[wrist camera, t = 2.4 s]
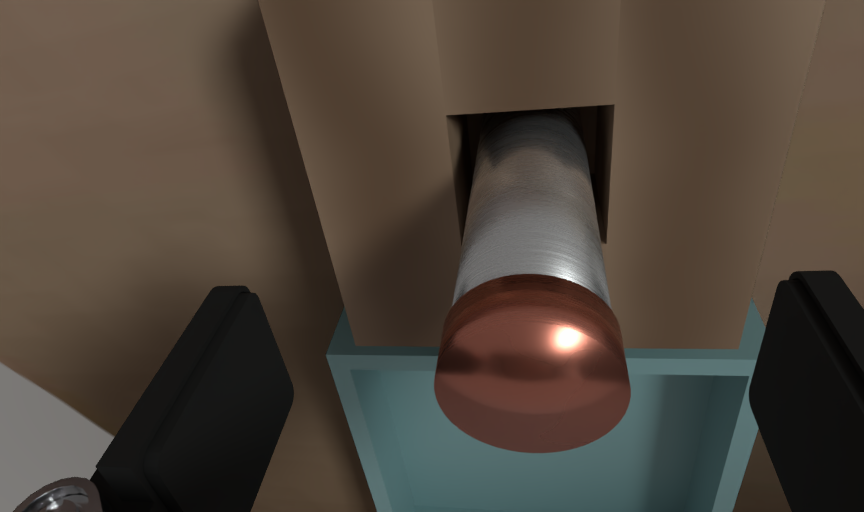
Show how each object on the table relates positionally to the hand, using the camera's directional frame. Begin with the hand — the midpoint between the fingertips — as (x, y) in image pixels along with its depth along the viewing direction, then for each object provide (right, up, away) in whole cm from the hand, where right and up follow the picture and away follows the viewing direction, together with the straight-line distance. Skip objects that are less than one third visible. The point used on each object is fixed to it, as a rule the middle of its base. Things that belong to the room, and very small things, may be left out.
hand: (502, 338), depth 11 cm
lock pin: (+2, +6, +7) cm, 10 cm away
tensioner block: (+2, +6, +8) cm, 11 cm away
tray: (+4, -7, +18) cm, 19 cm away
